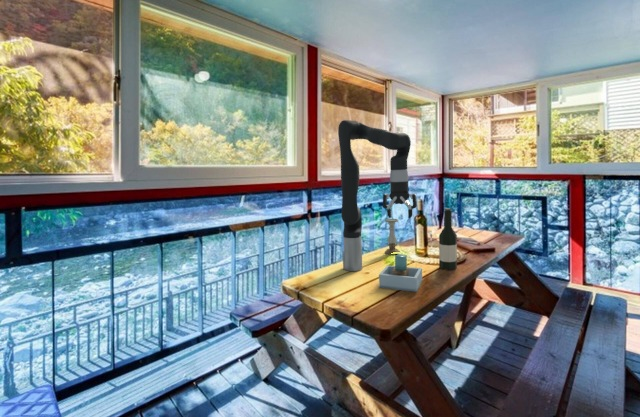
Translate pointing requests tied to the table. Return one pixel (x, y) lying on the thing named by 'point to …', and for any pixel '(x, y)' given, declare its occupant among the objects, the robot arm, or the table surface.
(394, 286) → the blue-grey tote
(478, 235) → the table surface
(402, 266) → the teal glossy cylinder
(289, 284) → the table surface
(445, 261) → the wine bottle
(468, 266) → the table surface
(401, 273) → the walnut block
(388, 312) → the table surface
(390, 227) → the candle holder
